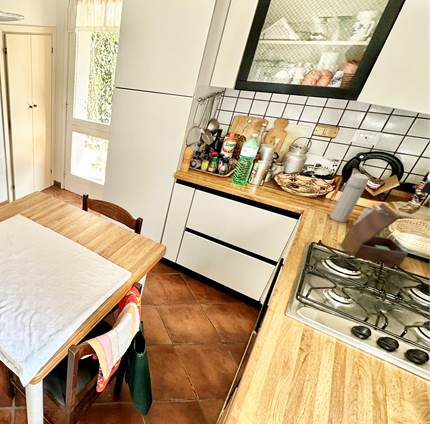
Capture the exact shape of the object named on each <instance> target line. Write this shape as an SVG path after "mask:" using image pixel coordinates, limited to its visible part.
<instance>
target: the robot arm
mask: <svg viewBox="0 0 430 424" xmlns="http://www.w3.org/2000/svg"><path fill="white" fill-rule="evenodd" d="M424 183H425V184H424V185H423V186H422V188H421V190H420V191H419V192H420V194H426V195H430V170H429V171H428V175H427V177H426V180H425V182H424Z"/></svg>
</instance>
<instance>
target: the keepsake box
mask: <svg viewBox="0 0 430 424" xmlns="http://www.w3.org/2000/svg"><path fill="white" fill-rule="evenodd" d="M375 245H378V246H384V247H388V248H389V249H390V250H387V249H381V248H376V247H374V246H375ZM340 246H341V248H342V249H343V251H344V252H345V253H346V254H347V256H348V257H349V256H351V255H353V256H355V257H360V258H363V259H366V260H370V261H372V262H374V263H376V262H379V260H381V259H382V260H383V263H384V266H383V267H385V266H387V267H386V268H390V267H391V268H390V269H393V268H392V267H393V265H394V264H397V265H398V266H399V267H400V266H401V265H402V263H403V262H404V261H405V260H406V258H407V256H408V253H407V251H405V249H403V248H402V247H401V246H400V245H399V243H397V242H396V241H395V240H394V239H393V238H392V237H391V238H390V237H386V236H381V235H380V236H379V235H376V236H374V237H373V238H371V239H370V240H369V241H367V242H366V243H365V244H363V245H361V244H360V243H359V242H358V241H357V239H356V238H355V237H354V236H353V235H352V234H351V233H350V231H349V230H348V231H347V232H346V235H345V236H344V238H343V240H342V242H341V243H340ZM350 254H351V255H350Z"/></svg>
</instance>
